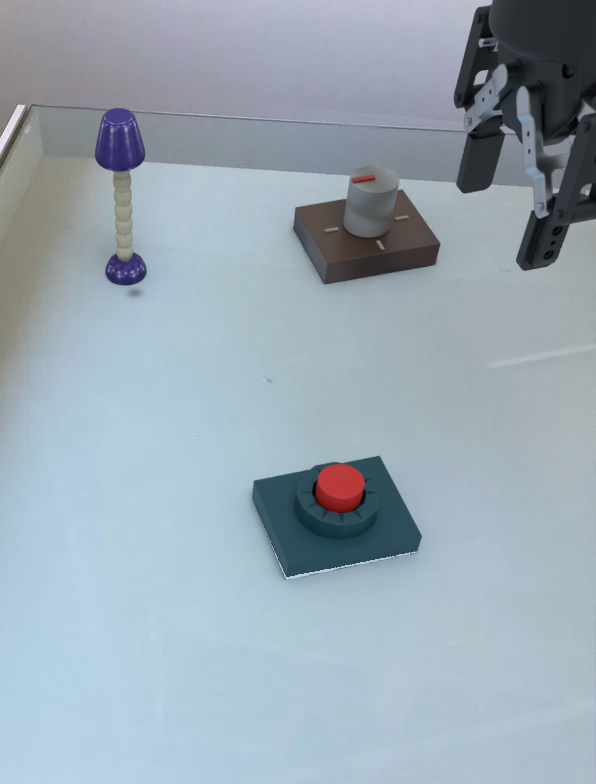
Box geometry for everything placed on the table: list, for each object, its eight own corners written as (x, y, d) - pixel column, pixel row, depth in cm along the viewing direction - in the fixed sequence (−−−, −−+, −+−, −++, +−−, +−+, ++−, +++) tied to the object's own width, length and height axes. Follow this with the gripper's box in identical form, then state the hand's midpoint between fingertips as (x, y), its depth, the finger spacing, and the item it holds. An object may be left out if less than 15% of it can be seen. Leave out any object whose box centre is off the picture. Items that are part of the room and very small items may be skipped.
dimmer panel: (398, 210, 104) (403, 187, 102) (435, 264, 98) (441, 241, 96) (292, 228, 103) (295, 205, 100) (324, 284, 97) (327, 261, 95)
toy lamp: (157, 277, 98) (154, 117, 85) (119, 294, 97) (110, 134, 83) (131, 254, 101) (124, 94, 87) (94, 271, 99) (81, 111, 86)
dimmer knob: (380, 207, 100) (389, 159, 96) (397, 233, 97) (407, 185, 93) (336, 214, 99) (343, 166, 95) (352, 241, 97) (360, 192, 92)
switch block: (375, 473, 82) (383, 439, 79) (416, 553, 77) (427, 521, 74) (251, 498, 81) (254, 465, 77) (285, 581, 76) (290, 549, 72)
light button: (351, 475, 77) (355, 460, 76) (368, 508, 75) (371, 493, 74) (309, 483, 77) (311, 468, 75) (324, 517, 75) (327, 502, 73)
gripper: (742, -18, 44) (613, 283, 57) (586, -130, 52) (505, 156, 65) (590, 7, 43) (496, 306, 56) (456, -111, 51) (401, 175, 64)
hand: (501, 225), depth 61 cm, fingers open, 8 cm apart
